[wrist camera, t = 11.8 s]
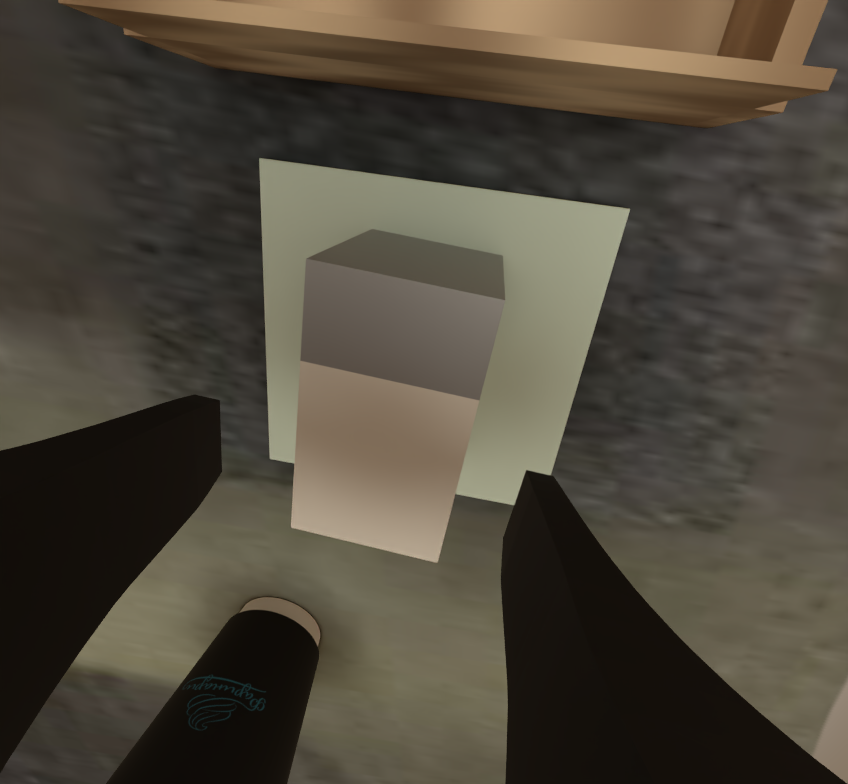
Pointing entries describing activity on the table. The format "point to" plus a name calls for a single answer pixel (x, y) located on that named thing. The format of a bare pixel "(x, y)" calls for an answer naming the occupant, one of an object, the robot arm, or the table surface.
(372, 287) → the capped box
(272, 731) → the dixie cup
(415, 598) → the table surface
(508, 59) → the wooden crate
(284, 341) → the panel
